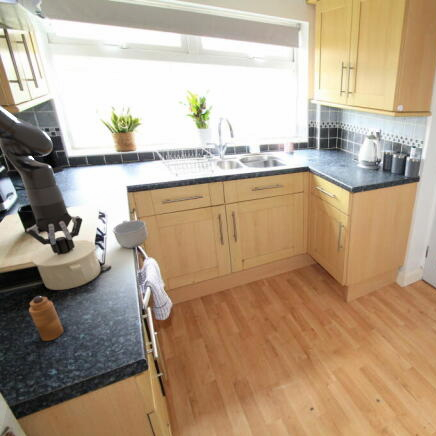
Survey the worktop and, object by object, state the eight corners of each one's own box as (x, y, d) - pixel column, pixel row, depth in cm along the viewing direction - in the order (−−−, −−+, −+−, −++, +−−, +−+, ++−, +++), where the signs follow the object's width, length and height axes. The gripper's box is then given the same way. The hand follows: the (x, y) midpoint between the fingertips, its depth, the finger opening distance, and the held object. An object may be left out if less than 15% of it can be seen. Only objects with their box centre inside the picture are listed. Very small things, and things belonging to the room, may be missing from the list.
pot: (54, 300, 93) (44, 275, 89) (37, 273, 104) (28, 251, 101) (110, 278, 103) (103, 256, 100) (89, 256, 115) (83, 235, 111)
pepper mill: (43, 343, 78) (26, 305, 73) (39, 334, 81) (22, 297, 76) (65, 333, 81) (50, 296, 76) (61, 325, 84) (46, 288, 79)
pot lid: (40, 275, 90) (33, 257, 88) (28, 255, 99) (21, 239, 97) (103, 254, 101) (98, 238, 99) (87, 238, 110) (82, 223, 108)
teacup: (150, 247, 122) (146, 228, 119) (117, 253, 117) (112, 234, 114) (147, 232, 133) (143, 215, 130) (117, 238, 128) (112, 220, 124)
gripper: (17, 210, 86) (39, 264, 93) (79, 197, 96) (94, 247, 103) (12, 202, 90) (33, 255, 97) (71, 191, 100) (87, 239, 107)
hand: (64, 251), depth 100 cm, fingers closed on pot lid, 2 cm apart
